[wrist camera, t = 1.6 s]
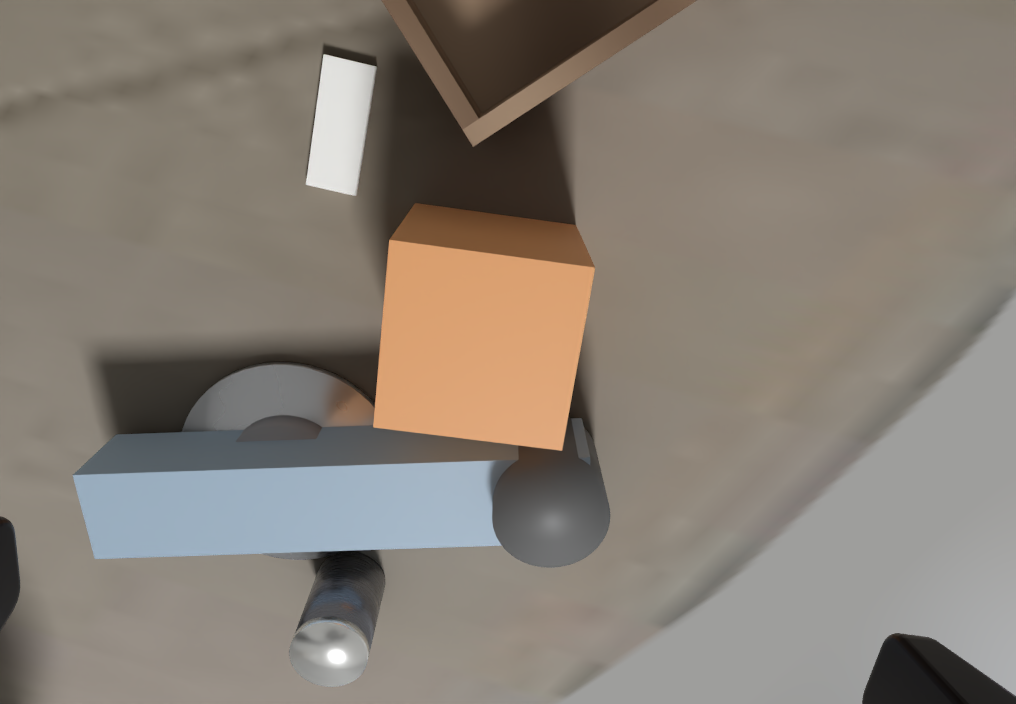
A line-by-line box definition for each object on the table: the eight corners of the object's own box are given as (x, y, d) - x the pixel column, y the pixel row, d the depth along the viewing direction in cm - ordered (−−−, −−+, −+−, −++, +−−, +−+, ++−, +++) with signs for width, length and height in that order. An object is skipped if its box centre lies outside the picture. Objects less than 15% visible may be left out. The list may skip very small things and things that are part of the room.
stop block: (400, 353, 20) (373, 427, 16) (415, 202, 19) (389, 240, 15) (550, 372, 21) (561, 450, 16) (575, 224, 19) (595, 267, 15)
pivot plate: (273, 587, 23) (271, 592, 23) (137, 432, 21) (132, 436, 21) (442, 492, 22) (441, 497, 21) (312, 320, 20) (310, 323, 20)
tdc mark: (357, 194, 19) (355, 195, 19) (307, 183, 19) (306, 184, 18) (377, 66, 18) (375, 66, 18) (325, 54, 18) (323, 54, 17)
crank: (137, 524, 22) (84, 589, 19) (112, 420, 21) (53, 474, 18) (596, 508, 21) (609, 572, 19) (596, 403, 20) (610, 455, 18)
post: (343, 619, 23) (320, 698, 20) (303, 571, 23) (273, 646, 20) (398, 589, 23) (382, 665, 20) (358, 540, 22) (336, 611, 19)
